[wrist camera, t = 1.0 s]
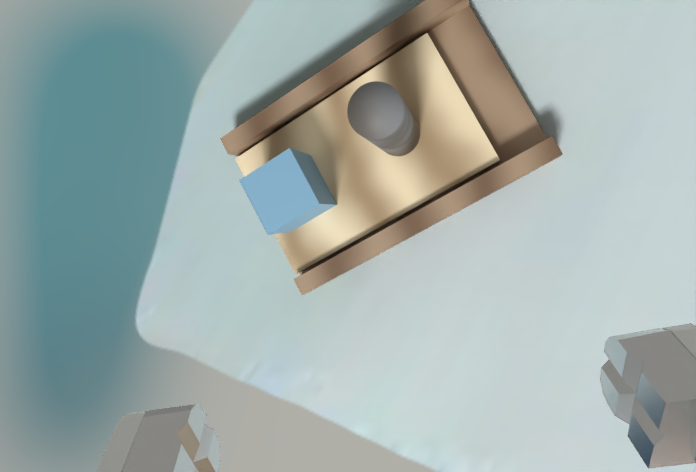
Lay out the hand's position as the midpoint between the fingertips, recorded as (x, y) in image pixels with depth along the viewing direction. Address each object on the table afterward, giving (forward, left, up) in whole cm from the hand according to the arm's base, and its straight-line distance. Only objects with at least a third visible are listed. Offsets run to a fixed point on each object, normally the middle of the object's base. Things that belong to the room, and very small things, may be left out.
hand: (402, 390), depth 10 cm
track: (+7, -9, -32) cm, 34 cm away
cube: (+14, -5, -30) cm, 34 cm away
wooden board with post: (+8, -8, -31) cm, 33 cm away
